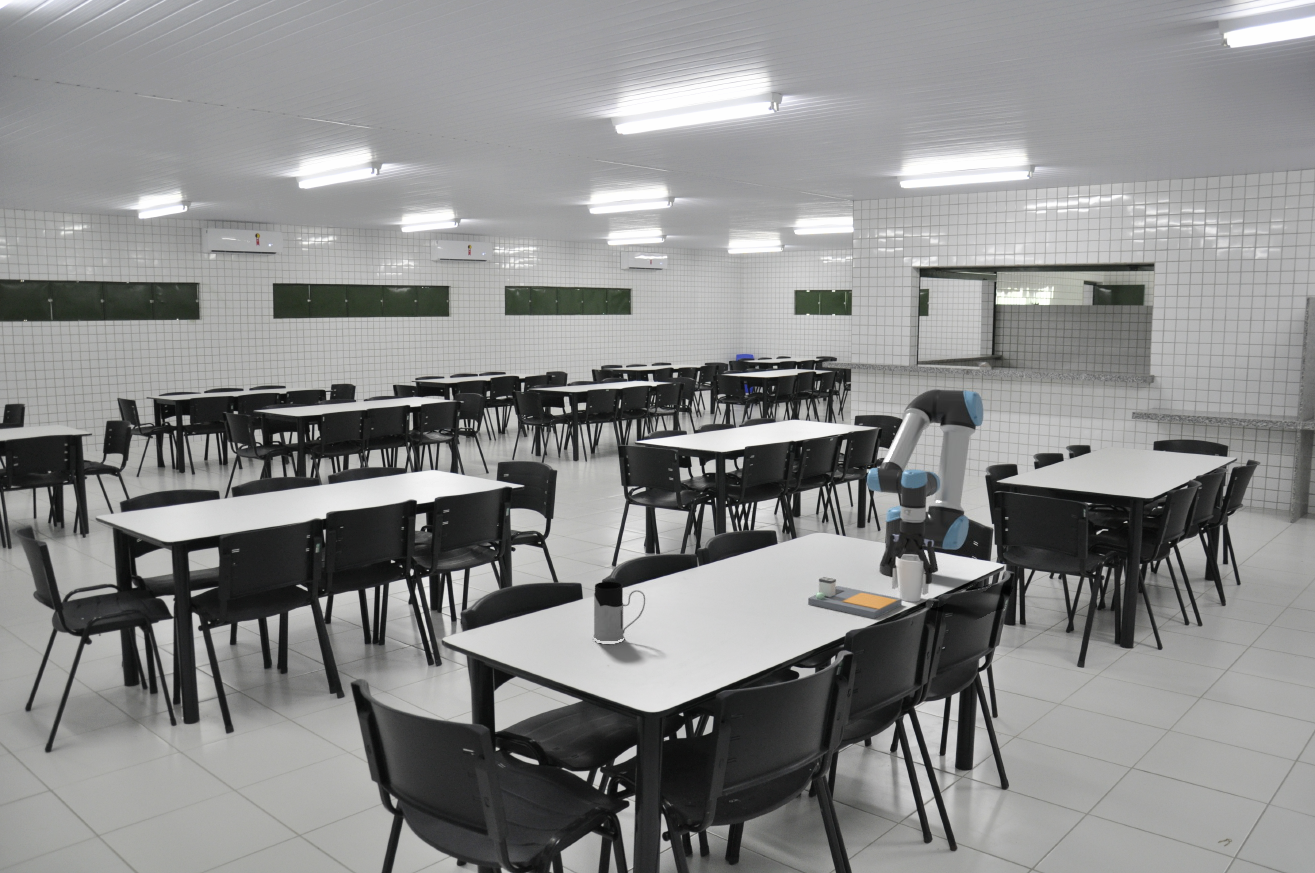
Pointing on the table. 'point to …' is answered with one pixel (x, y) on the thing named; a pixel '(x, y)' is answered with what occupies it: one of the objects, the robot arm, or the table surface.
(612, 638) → the glass holder
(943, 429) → the robot arm
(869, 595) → the grey flat block
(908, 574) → the foam cup
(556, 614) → the table surface
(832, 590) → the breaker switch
